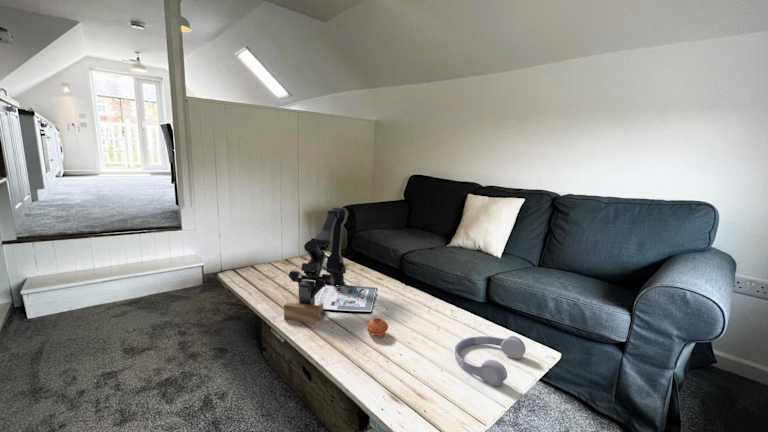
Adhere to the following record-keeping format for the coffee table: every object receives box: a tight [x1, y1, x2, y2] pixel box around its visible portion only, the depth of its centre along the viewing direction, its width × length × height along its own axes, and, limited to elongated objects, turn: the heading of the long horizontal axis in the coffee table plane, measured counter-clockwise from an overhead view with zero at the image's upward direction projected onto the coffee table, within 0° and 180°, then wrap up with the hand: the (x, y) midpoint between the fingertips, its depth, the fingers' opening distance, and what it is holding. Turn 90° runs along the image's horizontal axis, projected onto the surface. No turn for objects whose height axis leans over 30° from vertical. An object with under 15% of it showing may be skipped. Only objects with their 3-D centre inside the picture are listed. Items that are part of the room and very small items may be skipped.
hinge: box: [322, 252, 331, 270], centre depth 199 cm, size 17×5×10 cm, turn 38°
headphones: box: [454, 335, 527, 387], centre depth 113 cm, size 22×7×20 cm
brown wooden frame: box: [283, 301, 324, 324], centre depth 141 cm, size 11×14×6 cm
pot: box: [366, 317, 389, 339], centre depth 127 cm, size 8×8×7 cm
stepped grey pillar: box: [298, 280, 316, 305], centre depth 141 cm, size 5×5×12 cm
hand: (305, 297), depth 140 cm, fingers closed on stepped grey pillar, 5 cm apart
